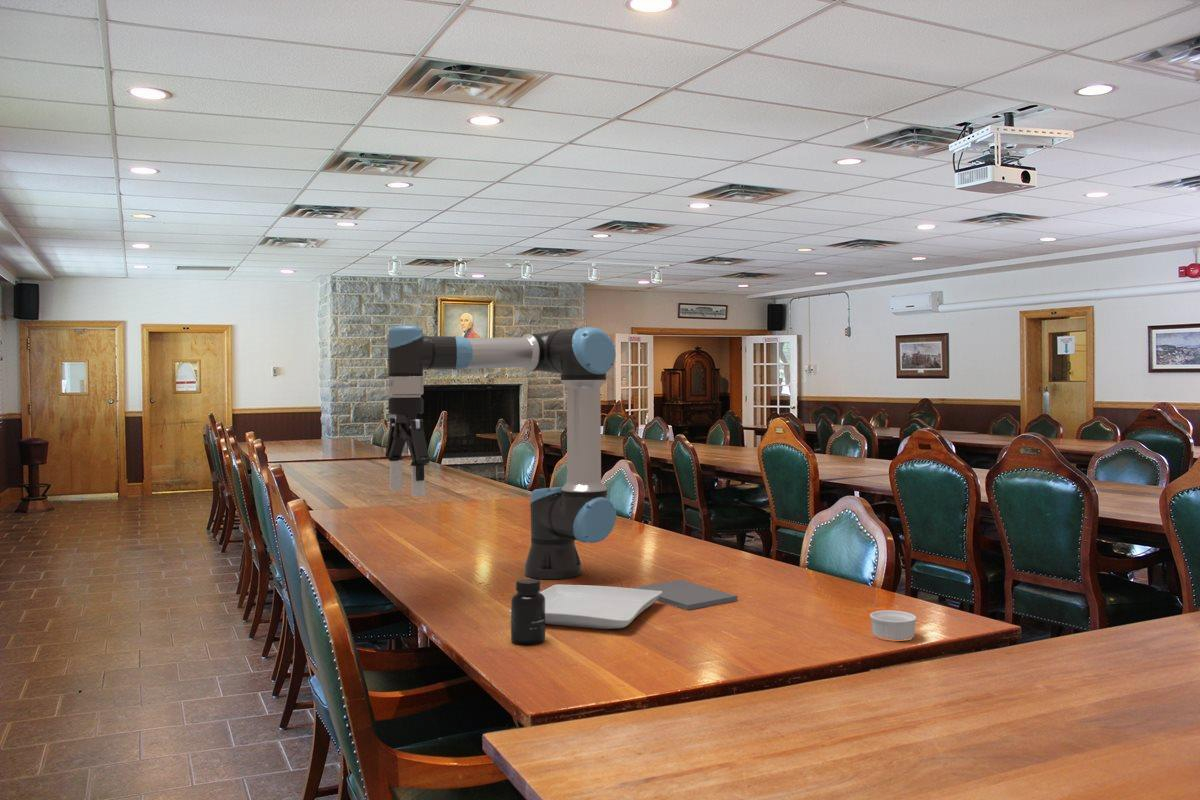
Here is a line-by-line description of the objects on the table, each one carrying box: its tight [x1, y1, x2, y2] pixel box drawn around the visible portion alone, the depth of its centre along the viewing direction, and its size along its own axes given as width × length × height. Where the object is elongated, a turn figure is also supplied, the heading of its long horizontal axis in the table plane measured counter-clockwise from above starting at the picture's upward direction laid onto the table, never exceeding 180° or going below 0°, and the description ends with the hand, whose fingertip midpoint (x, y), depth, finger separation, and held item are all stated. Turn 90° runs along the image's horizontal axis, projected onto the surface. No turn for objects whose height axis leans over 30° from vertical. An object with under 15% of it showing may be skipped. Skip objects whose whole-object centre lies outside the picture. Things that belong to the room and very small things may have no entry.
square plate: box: [508, 583, 663, 630], centre depth 202 cm, size 27×27×4 cm
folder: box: [631, 579, 738, 611], centre depth 217 cm, size 15×21×1 cm
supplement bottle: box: [510, 578, 546, 646], centre depth 181 cm, size 7×7×12 cm
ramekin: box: [869, 609, 918, 640], centre depth 183 cm, size 9×9×4 cm
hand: (407, 492), depth 201 cm, fingers open, 13 cm apart
